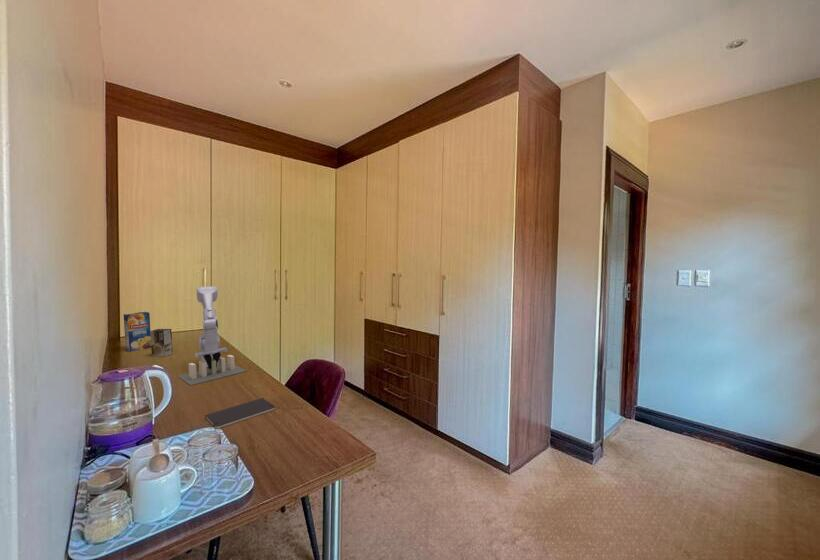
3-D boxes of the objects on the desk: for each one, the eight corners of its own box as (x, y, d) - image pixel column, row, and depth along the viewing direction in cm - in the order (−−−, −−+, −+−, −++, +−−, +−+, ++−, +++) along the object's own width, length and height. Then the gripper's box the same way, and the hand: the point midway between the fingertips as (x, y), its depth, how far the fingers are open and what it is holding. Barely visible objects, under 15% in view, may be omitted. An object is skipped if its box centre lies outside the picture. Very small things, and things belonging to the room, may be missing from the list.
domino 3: (222, 372, 175) (221, 359, 174) (218, 370, 178) (217, 357, 178) (225, 371, 176) (225, 358, 176) (222, 369, 179) (221, 356, 179)
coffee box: (173, 353, 212) (172, 328, 211) (164, 356, 206) (163, 330, 205) (160, 353, 213) (158, 328, 212) (151, 356, 207) (149, 330, 206)
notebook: (262, 401, 141) (205, 419, 125) (262, 397, 140) (204, 415, 125) (276, 410, 132) (216, 430, 116) (276, 406, 132) (215, 426, 116)
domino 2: (202, 377, 168) (202, 363, 168) (199, 374, 171) (198, 361, 171) (206, 376, 169) (206, 362, 169) (203, 374, 173) (202, 360, 172)
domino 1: (192, 379, 165) (191, 365, 164) (189, 377, 168) (188, 363, 167) (196, 378, 166) (195, 364, 166) (193, 376, 169) (192, 362, 169)
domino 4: (231, 370, 178) (230, 357, 178) (227, 368, 181) (227, 355, 181) (234, 369, 180) (234, 356, 179) (231, 367, 183) (230, 354, 182)
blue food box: (147, 346, 232) (145, 311, 231) (151, 347, 228) (149, 312, 227) (125, 350, 222) (123, 314, 221) (129, 351, 218) (127, 315, 217)
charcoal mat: (177, 376, 170) (177, 375, 170) (231, 364, 190) (231, 363, 190) (190, 385, 157) (190, 384, 157) (247, 371, 177) (246, 370, 177)
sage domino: (212, 374, 172) (212, 361, 171) (209, 372, 175) (208, 359, 174) (216, 373, 173) (215, 360, 172) (212, 371, 176) (212, 358, 176)
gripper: (198, 346, 165) (199, 373, 165) (229, 340, 176) (230, 366, 176) (193, 344, 169) (194, 370, 170) (224, 338, 180) (225, 363, 181)
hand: (212, 368), depth 174 cm, fingers closed on sage domino, 2 cm apart
